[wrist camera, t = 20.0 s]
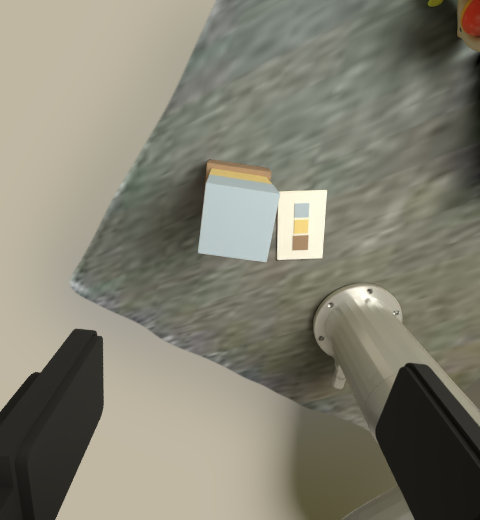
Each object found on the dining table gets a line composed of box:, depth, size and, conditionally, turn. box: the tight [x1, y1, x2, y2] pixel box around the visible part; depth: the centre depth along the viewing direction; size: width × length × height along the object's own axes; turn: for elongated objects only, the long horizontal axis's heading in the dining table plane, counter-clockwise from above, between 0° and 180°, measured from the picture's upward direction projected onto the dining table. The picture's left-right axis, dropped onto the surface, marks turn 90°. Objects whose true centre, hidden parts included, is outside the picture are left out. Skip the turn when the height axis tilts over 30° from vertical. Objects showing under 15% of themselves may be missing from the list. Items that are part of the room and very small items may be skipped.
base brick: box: [201, 159, 272, 222], centre depth 38 cm, size 7×7×4 cm
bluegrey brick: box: [198, 175, 280, 262], centre depth 30 cm, size 6×6×5 cm
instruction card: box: [277, 190, 327, 260], centre depth 42 cm, size 9×6×1 cm, turn 2°
